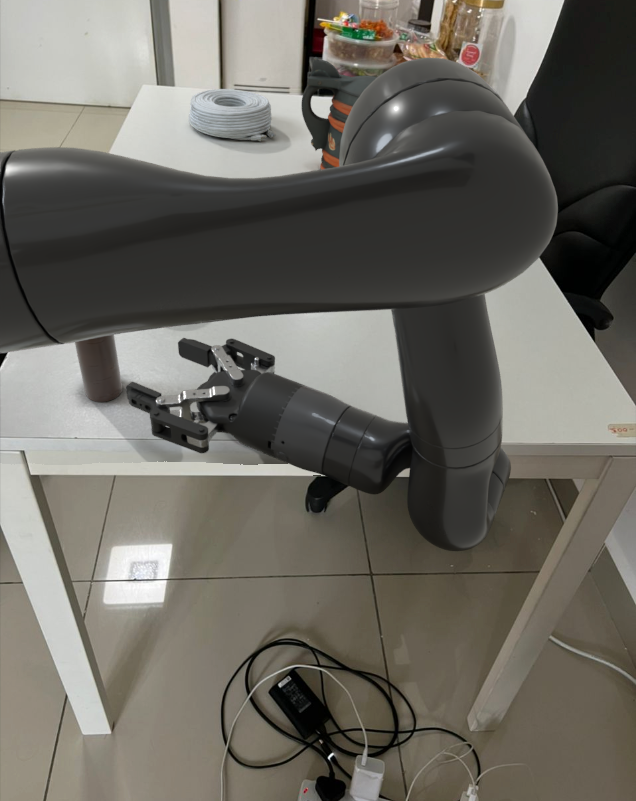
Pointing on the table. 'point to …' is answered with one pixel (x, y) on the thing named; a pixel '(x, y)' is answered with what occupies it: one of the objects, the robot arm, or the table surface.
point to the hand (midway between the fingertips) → (155, 367)
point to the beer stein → (331, 108)
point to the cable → (231, 114)
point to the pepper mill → (99, 368)
